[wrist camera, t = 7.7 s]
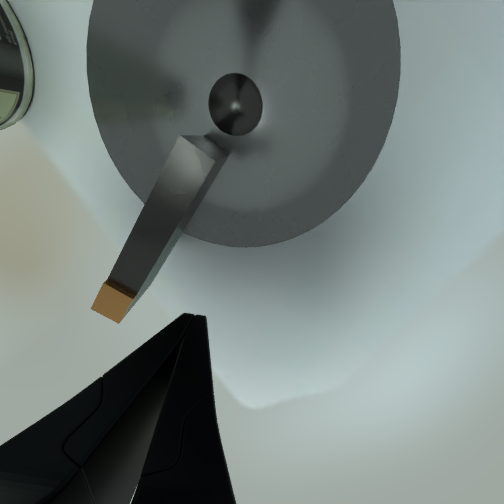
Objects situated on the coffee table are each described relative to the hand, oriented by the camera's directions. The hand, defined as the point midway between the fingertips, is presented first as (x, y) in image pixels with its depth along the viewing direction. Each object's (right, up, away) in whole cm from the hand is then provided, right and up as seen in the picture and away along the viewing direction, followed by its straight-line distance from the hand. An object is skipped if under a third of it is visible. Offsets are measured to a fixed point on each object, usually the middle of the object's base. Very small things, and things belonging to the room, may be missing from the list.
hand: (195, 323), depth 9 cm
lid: (0, +8, +4) cm, 9 cm away
